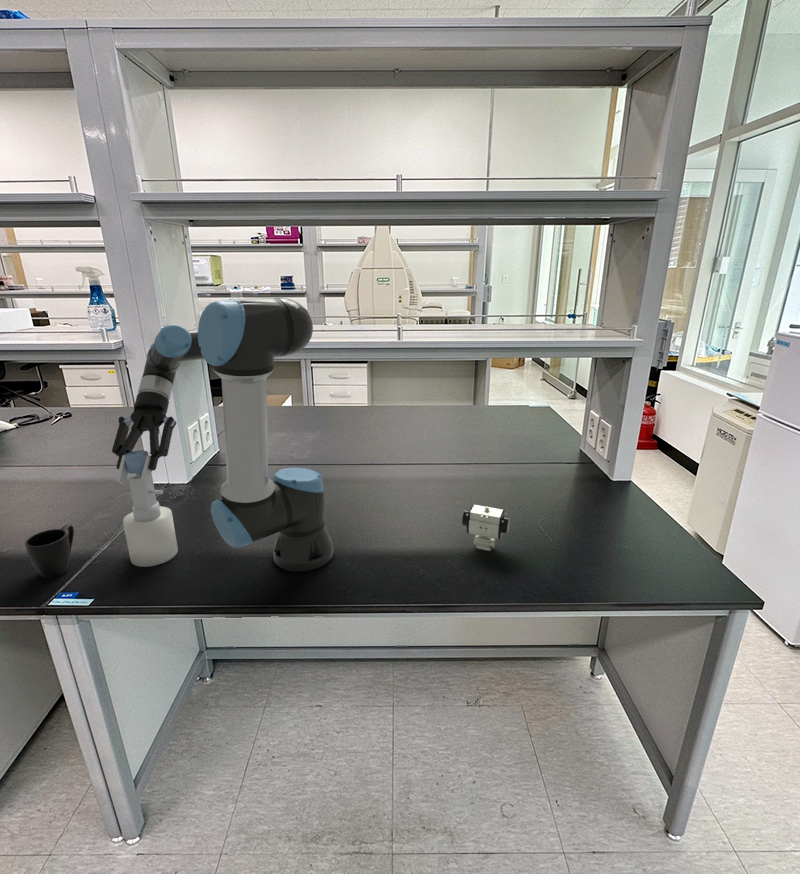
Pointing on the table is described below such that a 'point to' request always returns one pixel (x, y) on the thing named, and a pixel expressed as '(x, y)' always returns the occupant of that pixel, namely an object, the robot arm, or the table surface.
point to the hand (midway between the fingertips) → (132, 482)
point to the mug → (51, 551)
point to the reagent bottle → (149, 527)
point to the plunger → (135, 462)
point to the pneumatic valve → (485, 525)
